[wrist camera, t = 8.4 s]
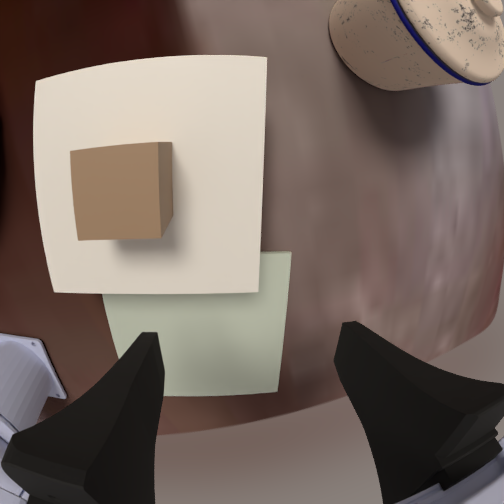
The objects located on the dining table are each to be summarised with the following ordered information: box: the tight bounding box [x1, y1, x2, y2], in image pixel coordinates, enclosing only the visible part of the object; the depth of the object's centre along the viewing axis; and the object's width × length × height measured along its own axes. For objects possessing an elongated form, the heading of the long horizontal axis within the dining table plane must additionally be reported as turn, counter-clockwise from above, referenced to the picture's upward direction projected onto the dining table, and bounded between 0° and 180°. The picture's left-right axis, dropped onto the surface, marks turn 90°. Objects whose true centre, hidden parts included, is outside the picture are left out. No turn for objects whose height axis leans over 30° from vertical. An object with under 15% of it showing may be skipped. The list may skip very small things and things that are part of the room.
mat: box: [102, 251, 291, 396], centre depth 22 cm, size 14×14×1 cm
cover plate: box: [33, 55, 267, 294], centre depth 12 cm, size 12×12×4 cm
